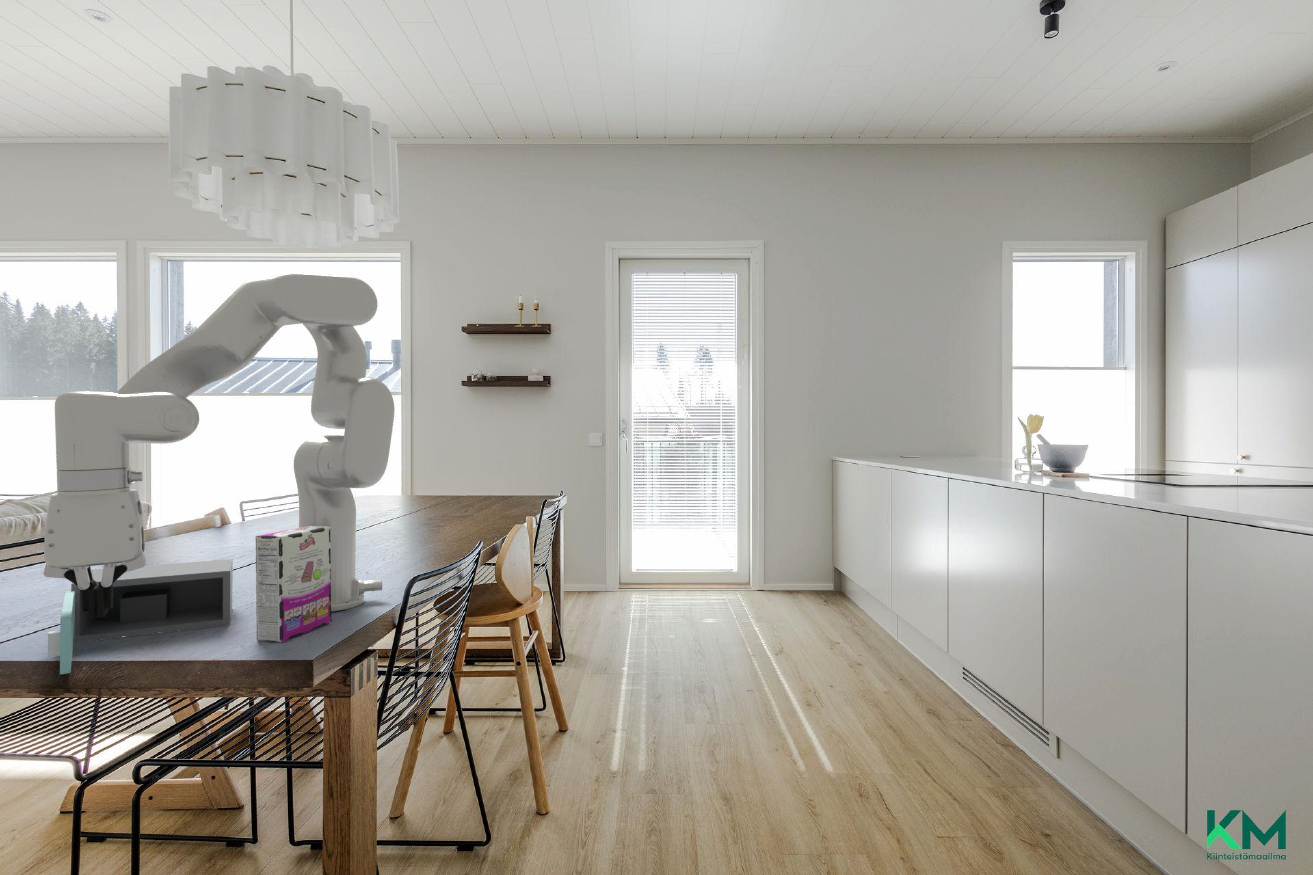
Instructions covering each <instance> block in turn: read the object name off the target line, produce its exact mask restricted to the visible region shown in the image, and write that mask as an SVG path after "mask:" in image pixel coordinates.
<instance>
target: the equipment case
mask: <svg viewBox="0 0 1313 875" xmlns="http://www.w3.org/2000/svg"><path fill="white" fill-rule="evenodd" d="M233 561H234V559H233V558H230V559H217V560H216V559H215V560H205V561H190V562H189V561H188V562H177V563H165V564H163V563H162V564H151V565H149V564H148V565H145V566H144V567H143V568H139V569H136V570H133V571H129V572H125V573H124V574H123V575H122V576H120V577H119V578H118V579H117V580H116V581H115V582H114V583H113V607H112V608H108V612H107V613H106V614H105V616H103V617H99V616H95V617H94V618H88V611H83V605H82V589H80V588H79V587H78V586H77V585H75V584H74V583H72V582H71V584H70V585H71V587H70V589H71V590H70V591H75V638H74V640H73V645H74V644H79V643H89V641H90V642H97V641H96V640H98V641H102V640H101V639H107V640H112V639H111V638H115V639H118V638H117V637H122V636H132V637H137V636H136V635H140V636H144V635H143V634H148V635H155V634H154V633H157V634H159V633H158V632H165V633H172V632H171V631H173V632H179V631H178V630H182V631H188V630H198V629H204V628H205V629H206V628H215V627H222V626H230V625H231V620H232V613H233V584H234V583H233V578H234V577H233V576H234V574H233V572H234V571H233V570H234V569H233V568H234V567H233V566H234V565H233V563H234V562H233ZM102 573H103V568H99V569H96V568H95V569H92V574H93V578H94V580H95V581H96V584H97V585H99V583H100V582H101V579H102ZM152 633H153V634H152Z"/></svg>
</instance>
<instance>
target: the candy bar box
mask: <svg viewBox="0 0 1313 875" xmlns="http://www.w3.org/2000/svg"><path fill="white" fill-rule="evenodd" d="M330 528H331V527H326V526H306V527H301V528H299V527H297V528H291V529H286V530H280V531H275V532H270V533H265V534H260V535H256V536H255V579H256V580H255V582H256V585H255V588H256V592H255V595H256V596H255V598H256V608H255V609H256V640H257V641H258V642H263V643H282V644H283V643H285V642H288V641H291V640H292V639H295V638H297V637H300V636H302V635H305V634H307V632H308V633H310V632H312V631H314V630H315V631H316V629H317V630H318V629H320V628H322V627H324V626H327V625H329V624H331V623H332V612H331V545H330V542H331V540H330Z"/></svg>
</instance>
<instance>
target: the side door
mask: <svg viewBox="0 0 1313 875" xmlns="http://www.w3.org/2000/svg"><path fill="white" fill-rule="evenodd" d="M63 598H64V599H63V603H62V609H61V615H60V620H59V621H60V622H59V623H60V626H59V627H60V629H59V630H53V631H51V630H50V631H48V632H47V658H54V657H59V675H65V674H71V672H72V662H73V651H74V644H73V640H74V638H75V591H71V590H70V591H64V592H63Z"/></svg>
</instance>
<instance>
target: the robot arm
mask: <svg viewBox="0 0 1313 875" xmlns="http://www.w3.org/2000/svg"><path fill="white" fill-rule="evenodd" d="M377 310H378V298H377V295H376V293H375V291H374V289H373V288H372V287H371V286H370V285H369V284H368V283H367V282H365V281H364V280H362V279H360V278H357V277H353V276H342V275H332V274H331V275H328V274H318V273H306V272H297V271H292V272H291V271H285V272H284V271H283V272H279V273H277V272H276V273H272V274H266V275H265V274H264V275H261V276H259V275H258V276H255V277H253V278H249V279H247V281H245V282H243V283H242V284H241V285H240V286H239V287H238V288H236V290H234V291H233V292H232V294H230V296H228V297H227V298H226V300H224V301H223V303H221V304H220V305H219V306H218V307H217V308H216V309H215V311H213V312H212V314H210V316H208V317H207V318H206V319H205V320H204V321H203V322H202V323H201V324H200V325H199V326H198V327H197V328H196V329H195V330H194V331H193V332H192V333H190V334H189V335H187V336H186V337H184V338H183V339H180V340H179V341H178V342H176V343H175V344H173V346H171V347H170V348H168V349H167V350H165V351H164V352H163V353H161V354H160V355H158V356H156V358H153V360H151V361H150V362H148V363H147V364H145V365H144V366H142V368H141V369H139V370H138V371H137V372H136V373H135V374H134V375H133V376H132V377H130V378H129V379H128V380H127V381H126V382H125V383H124V384H123V385H122V386H121V387H120V388H119V389H118V390H117V391H116V392H115V393H114V392H107V391H67V392H63V393H61V394H58V396H57V397H56V399H55V401H54V427H55V428H54V430H55V433H54V434H55V458H56V459H55V460H56V482H57V483H56V493H52V494H51V495H50V499H49V502H48V508H47V512H46V519H45V520H46V521H45V529H44V544H43V545H44V547H43V550H44V551H43V553H44V554H43V557H44V561H45V562H44V563H45V565H44V566H45V567H44V569H43V573H42V574H43V576H44V577H46V578H55V579H66V580H68V581H69V582H70V583H71V584H72V583H74V584H75V585H77V586H78V587H79V588H80V589H82V605H83V611H88V618H94V617H95V616H99V617H103V616H105V614H106V613H107V612H108V608H112V607H113V583H114V582H115V581H116V580H117V579H118V578H119V577H120V576H122V575H123V574H124V573H125V572H129V571H133V570H136V569H139V568H143V567H144V566H147V563H148V561H147V559H146V556H145V553H144V552H145V549H146V540H145V539H146V536H145V527H144V517H143V509H142V504H141V498H140V495H139V491H138V489H133V488H131V487H130V486H131V485H132V484H133V483H135V484H136V482H143V478H144V475H143V474H144V473H143V472H142V471H135V470H134V471H133V469H131V467H130V446H129V443H130V444H131V443H134V444H135V443H137V444H157V445H158V444H172V443H176V442H180V441H183V440H186V439H187V438H188V437H190V436H191V435H192V434H193V433H194V432H195V431H196V430H197V429H198V426H199V424H200V413H199V411H198V408H197V406H196V405H195V404H194V403H193V402H192V401H191V400H190V399H188V398H189V397H190V396H191V395H192V394H193V393H196V392H197V391H199V390H200V389H202V388H203V387H204V388H205V387H206V386H208V385H210V384H212V383H215V382H218V381H220V380H224V379H226V378H228V377H231V376H233V375H234V374H235V373H238V372H239V371H241V370H243V369H244V368H246V367H247V366H248V365H249V363H250V362H251V361H252V360H253V359H254V358H255V356H256V355H257V354H259V352H260V351H261V350H262V349H263V348H264V346H265V345H267V343H268V342H269V341H271V339H272V338H273V337H274V336H275V335H276V334H277V332H279V330H280V329H281V328H283V327H284V326H290V325H300V324H302V325H303V326H304V327H305V328H306V329H307V331H308V332H309V334H310V336H311V337H312V339H313V341H314V343H315V346H316V349H317V350H316V351H317V358H316V359H317V360H316V368H315V375H314V376H315V377H314V382H313V389H312V395H311V401H310V412H311V413H310V414H311V416H312V419H313V420H314V421H315V423H317V425H319V426H321V427H324V428H327V429H333V430H334V429H336V430H344V434H343V435H339V434H338V435H333V434H332V435H318V436H313V437H310V438H309V439H307V440H305V441H304V442H303V443H302V444H300V446H299V447H298V448H297V450H296V452H295V454H294V458H293V472H294V476H295V478H294V479H295V482H296V487H297V495H298V510H299V511H298V528H301V527H306V526H326V527H331V528H330V540H331V542H330V545H331V613H332V612H338V611H345V610H348V609H349V610H350V609H351V608H356V607H357V606H361V605H362V604H363V603H364V602H365V595H364V594H365V593H367V592H378V591H379V592H380V591H382V590H383V580H373V579H372V580H360V579H359V578H358V577H357V575H356V557H357V556H356V547H357V546H356V545H357V542H356V541H357V536H356V535H357V534H356V532H357V527H356V526H357V525H356V524H357V508H356V506H357V505H356V500H355V498H354V494H353V492H352V489H366V488H370V487H373V486H374V485H376V484H377V483H378V482H380V480H381V479H382V478H383V476H384V474H385V472H386V470H387V466H388V463H389V458H390V457H389V456H390V449H391V444H392V435H393V428H394V421H395V409H396V408H395V402H394V398H393V397H394V396H393V395H392V392H391V391H390V390H391V389H390V388H389V387H388V386H387V385H386V384H385V383H384V382H383V381H381V380H380V379H379V380H378V379H376V378H373V377H366V376H367V374H366V373H367V363H368V362H367V360H368V359H367V358H368V355H367V354H368V353H367V350H366V346H365V342H364V341H363V339H362V338H361V335H360V334H359V332H358V331H357V330H356V328H355V327H357V326H362V325H365V324H367V323H368V322H370V321H371V320H373V318H374V316H375V315H376V313H377ZM95 566H102V569H103V573H102V579H101V582H100V583H99V585H97V584H96V581H95V580H94V578H93V574H92V570H93V569H92V567H95Z"/></svg>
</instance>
